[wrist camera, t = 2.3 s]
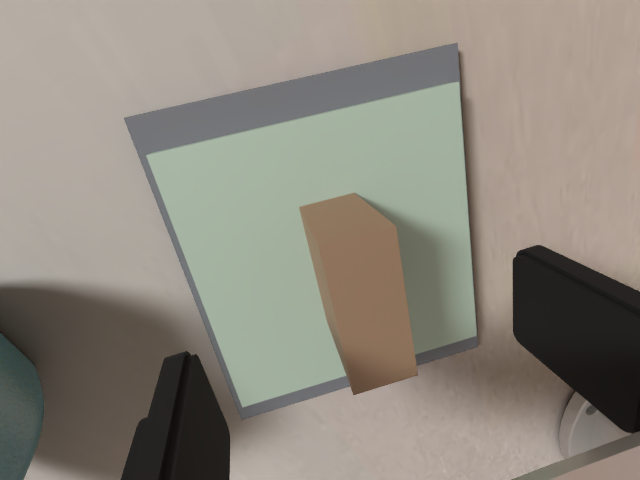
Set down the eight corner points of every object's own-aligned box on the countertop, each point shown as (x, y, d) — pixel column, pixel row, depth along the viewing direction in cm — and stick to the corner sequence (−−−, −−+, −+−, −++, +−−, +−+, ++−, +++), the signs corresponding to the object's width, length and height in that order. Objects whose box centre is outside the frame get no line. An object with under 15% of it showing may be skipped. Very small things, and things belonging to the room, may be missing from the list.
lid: (468, 327, 21) (544, 403, 15) (242, 396, 20) (239, 504, 14) (449, 82, 16) (549, 69, 11) (151, 153, 15) (95, 177, 10)
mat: (472, 340, 22) (478, 346, 21) (241, 411, 21) (241, 419, 20) (450, 45, 16) (457, 42, 16) (128, 117, 15) (123, 117, 14)
